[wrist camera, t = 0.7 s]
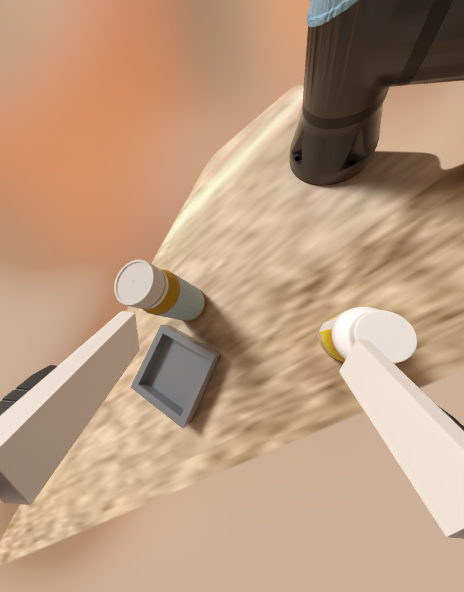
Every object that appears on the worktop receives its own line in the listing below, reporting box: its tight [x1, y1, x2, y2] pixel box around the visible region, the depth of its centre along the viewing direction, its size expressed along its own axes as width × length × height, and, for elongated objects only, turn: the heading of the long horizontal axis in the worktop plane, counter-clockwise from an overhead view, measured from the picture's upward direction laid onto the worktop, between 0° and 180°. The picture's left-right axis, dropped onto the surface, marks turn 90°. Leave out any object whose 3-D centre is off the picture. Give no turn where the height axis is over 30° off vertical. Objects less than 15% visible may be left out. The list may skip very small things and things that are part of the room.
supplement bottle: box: [319, 307, 417, 364], centre depth 22 cm, size 7×7×13 cm
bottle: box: [114, 260, 205, 321], centre depth 30 cm, size 7×7×15 cm
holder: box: [131, 325, 221, 428], centre depth 32 cm, size 12×12×3 cm
